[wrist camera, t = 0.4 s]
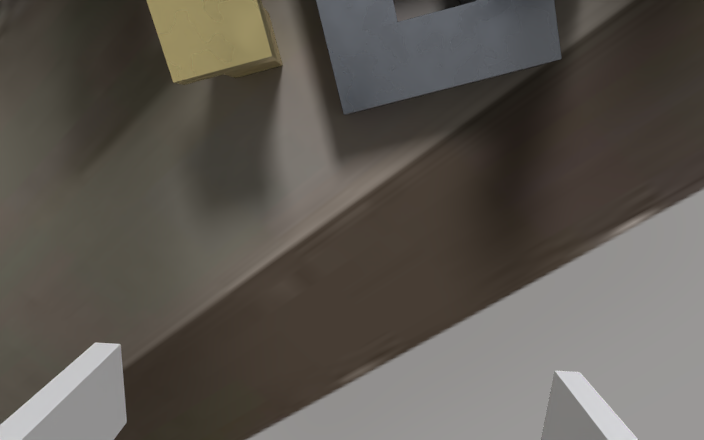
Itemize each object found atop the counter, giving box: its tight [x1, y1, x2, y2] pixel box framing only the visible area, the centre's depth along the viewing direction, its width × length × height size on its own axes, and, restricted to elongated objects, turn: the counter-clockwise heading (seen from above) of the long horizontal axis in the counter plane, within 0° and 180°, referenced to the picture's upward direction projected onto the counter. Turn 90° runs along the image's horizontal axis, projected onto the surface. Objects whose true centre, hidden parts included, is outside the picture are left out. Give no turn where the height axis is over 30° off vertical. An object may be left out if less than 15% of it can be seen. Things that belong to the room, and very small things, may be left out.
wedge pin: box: [147, 0, 283, 85], centre depth 29 cm, size 6×6×11 cm
